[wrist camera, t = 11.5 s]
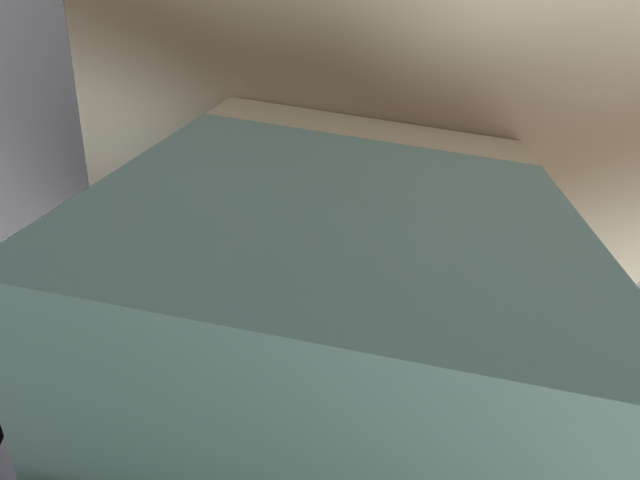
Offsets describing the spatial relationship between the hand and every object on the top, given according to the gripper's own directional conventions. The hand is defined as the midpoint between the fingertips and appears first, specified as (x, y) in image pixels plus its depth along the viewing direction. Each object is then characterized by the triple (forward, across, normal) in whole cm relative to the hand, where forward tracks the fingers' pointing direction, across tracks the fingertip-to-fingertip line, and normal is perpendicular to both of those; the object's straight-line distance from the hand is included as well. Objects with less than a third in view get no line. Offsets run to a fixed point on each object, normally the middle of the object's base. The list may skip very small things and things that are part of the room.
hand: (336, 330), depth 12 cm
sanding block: (+1, 0, 0) cm, 1 cm away
